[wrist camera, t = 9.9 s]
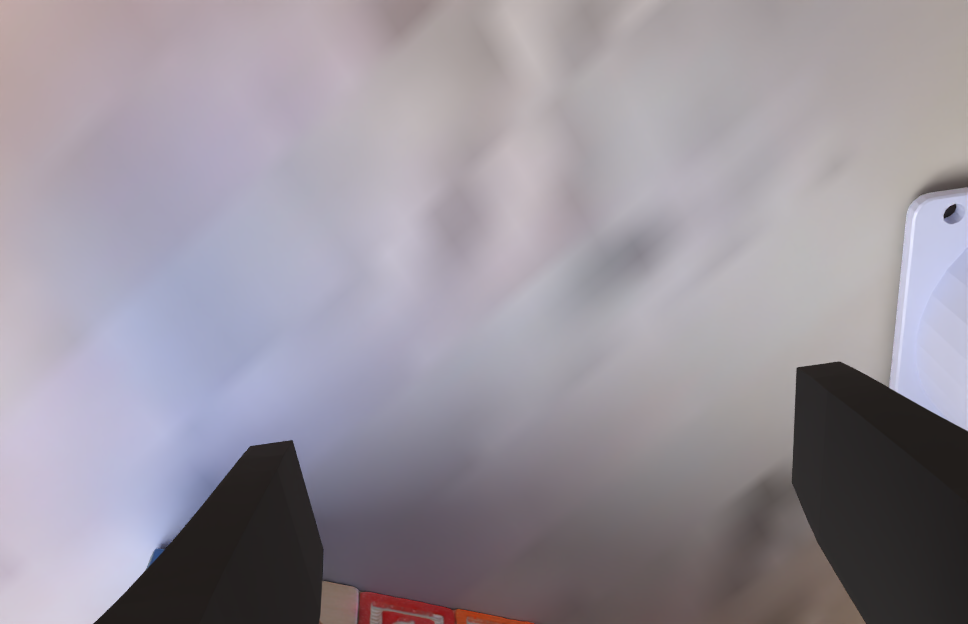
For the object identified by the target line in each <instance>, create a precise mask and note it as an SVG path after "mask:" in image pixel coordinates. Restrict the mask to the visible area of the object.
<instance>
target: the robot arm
mask: <svg viewBox="0 0 968 624" xmlns="http://www.w3.org/2000/svg"><path fill="white" fill-rule="evenodd" d="M953 204H956V209H955V212H954V213H953V214H952V215H951V216H949V217H946V218H944V217H943V215H944V213H945V210H946V209H947V208H948V207H949V206H951V205H953ZM792 484H793V486H794V489H795V491H796V493H797V496H798V498H799V501H800V503H801V506H802V508H803V510H804V513H805V515H806V517H807V520H808V522H809V524H810V526H811V529H812V531H813V533H814V535H815V538H816V540H817V542H818V544H819V546H820V547H821V549H822V551H823V553H824V554H825V556H826V558H827V559H828V561H829V563H830V564H831V566H832V568H833V570H834V571H835V573H836V575H837V576H838V578H839V580H840V581H841V583H842V585H843V586H844V588H845V590H846V591H847V593H848V595H849V596H850V598H851V599H852V601H853V603H854V604H855V606H856V608H857V609H858V611H859V613H860V614H861V616H862V618H863V619H864V621H865V622H866V624H968V187H965V188H958V189H951V190H944V191H938V192H931V193H927V194H923V195H921V196H919V197H918V198H917V199H915V200H914V201H913V202H912V204H911V205H910V206H909V208H908V212H907V216H906V226H905V235H904V245H903V255H902V265H901V275H900V285H899V295H898V305H897V315H896V325H895V335H894V345H893V355H892V365H891V375H890V385H889V387H887V386H885V385H883V384H881V383H880V382H878V381H876V380H874V379H872V378H871V377H869V376H867V375H865V374H863V373H861V372H860V371H858V370H856V369H854V368H852V367H850V366H848V365H846V364H844V363H842V362H833V363H826V364H819V365H812V366H805V367H798V368H797V373H796V397H795V421H794V445H793V468H792ZM322 575H323V546H322V543H321V539H320V536H319V532H318V529H317V525H316V521H315V518H314V514H313V511H312V507H311V504H310V500H309V497H308V493H307V490H306V486H305V483H304V479H303V475H302V472H301V468H300V465H299V461H298V458H297V454H296V451H295V447H294V444H293V440H290V441H283V442H276V443H269V444H262V445H255V446H250V447H249V448H248V449H247V451H246V452H245V453H244V454H243V455H242V457H241V458H240V459H239V460H238V462H237V463H236V464H235V465H234V467H233V468H232V469H231V470H230V471H229V473H228V474H227V475H226V476H225V478H224V479H223V480H222V481H221V483H220V484H219V485H218V486H217V488H216V489H215V490H214V491H213V493H212V494H211V495H210V496H209V498H208V499H207V500H206V501H205V503H204V504H203V505H202V506H201V508H200V509H199V510H198V511H197V512H196V514H195V515H194V516H193V517H192V518H191V520H190V521H189V522H188V523H187V524H186V526H185V527H184V528H183V529H182V530H181V532H180V533H179V534H178V535H177V536H176V538H175V539H174V540H173V541H172V542H171V543H170V545H169V546H168V547H167V548H166V549H165V550H164V551H163V552H162V553H161V554H160V555H159V556H158V558H157V559H156V560H155V561H154V562H153V563H152V564H151V565H150V566H149V567H148V568H147V570H146V571H145V572H144V573H143V574H142V575H141V576H140V577H139V578H138V579H137V580H136V581H135V583H134V584H133V585H132V586H131V587H130V588H129V589H128V590H127V591H126V592H125V593H124V594H123V595H122V596H121V597H120V598H119V599H118V600H117V601H116V602H115V603H114V604H113V605H112V606H111V607H110V608H109V609H108V610H107V611H106V612H105V613H104V614H103V615H102V616H101V617H100V618H99V619H98V620H97V621H96V622H95V623H94V624H319V620H320V614H321V596H322Z"/></svg>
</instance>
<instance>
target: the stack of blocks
mask: <svg viewBox="0 0 968 624" xmlns="http://www.w3.org/2000/svg"><path fill="white" fill-rule="evenodd" d="M164 550H165V549H157V548H156V549H155V550H154V552H153V554H152V556H151V558H150V561H149V563H148V566H147V568H148V567H149V566H150V565H151V564H152V563H153V562H154V561H155V560H156V559H157V558H158V556H159V555H160V554H161V553H162V552H163V551H164ZM147 568H146V570H147ZM319 624H534V623H531V622H525V621H517V620H512V619H506V618H503V617H498V616H493V615H488V614H482V613H478V612H473V611H467V610H462V609H455V610H452V609H449V608H447V607H442V606H437V605H431V604H427V603H423V602H418V601H413V600H408V599H403V598H396V597H392V596H388V595H382V594H377V593H372V592H359V590H358V589H357V588H355V587H352V586H347V585H342V584H337V583H332V582H327V581H322V596H321V614H320V620H319Z"/></svg>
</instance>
